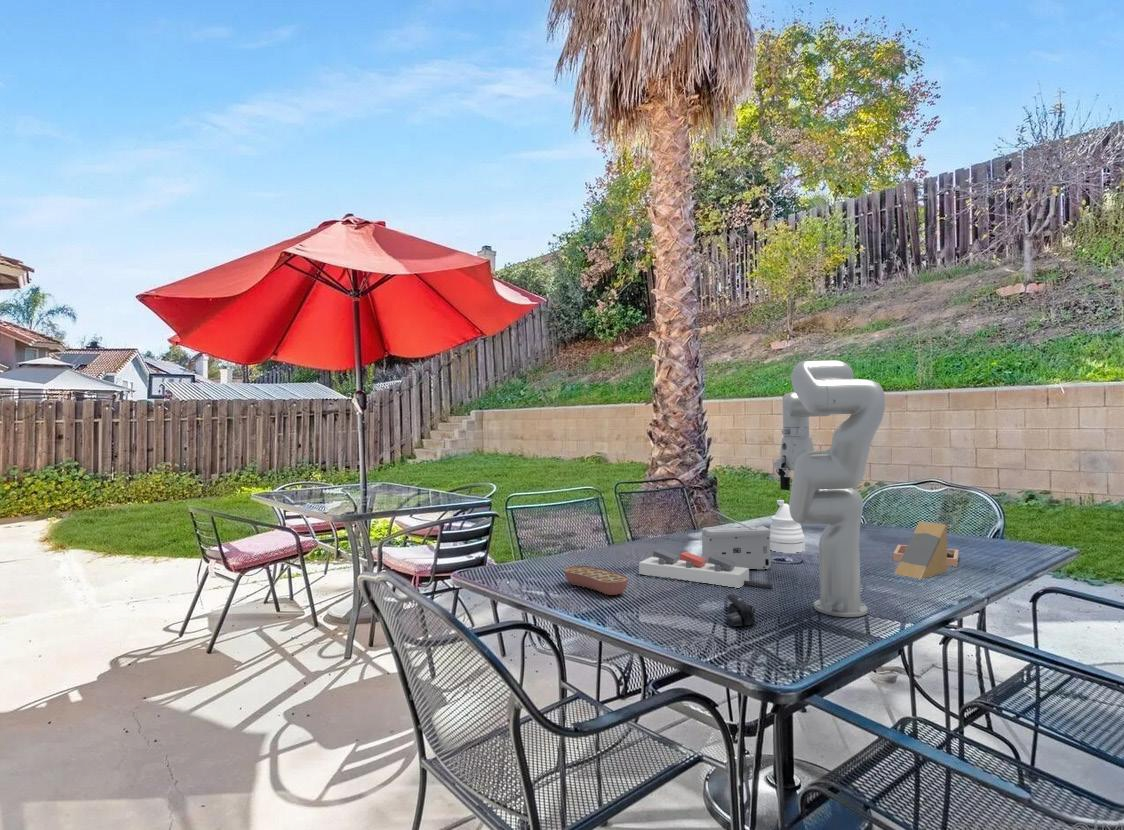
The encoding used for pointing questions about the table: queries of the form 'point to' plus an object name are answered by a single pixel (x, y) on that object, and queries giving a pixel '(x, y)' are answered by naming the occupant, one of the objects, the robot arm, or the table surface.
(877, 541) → the table surface
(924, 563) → the sandwich container
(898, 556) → the tan wooden tray
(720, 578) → the power strip
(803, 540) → the honey pot
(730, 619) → the can opener
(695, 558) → the rocker red
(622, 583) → the brown long rounded block
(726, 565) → the rocker near
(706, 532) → the stereo radio cassette player
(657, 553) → the rocker far
